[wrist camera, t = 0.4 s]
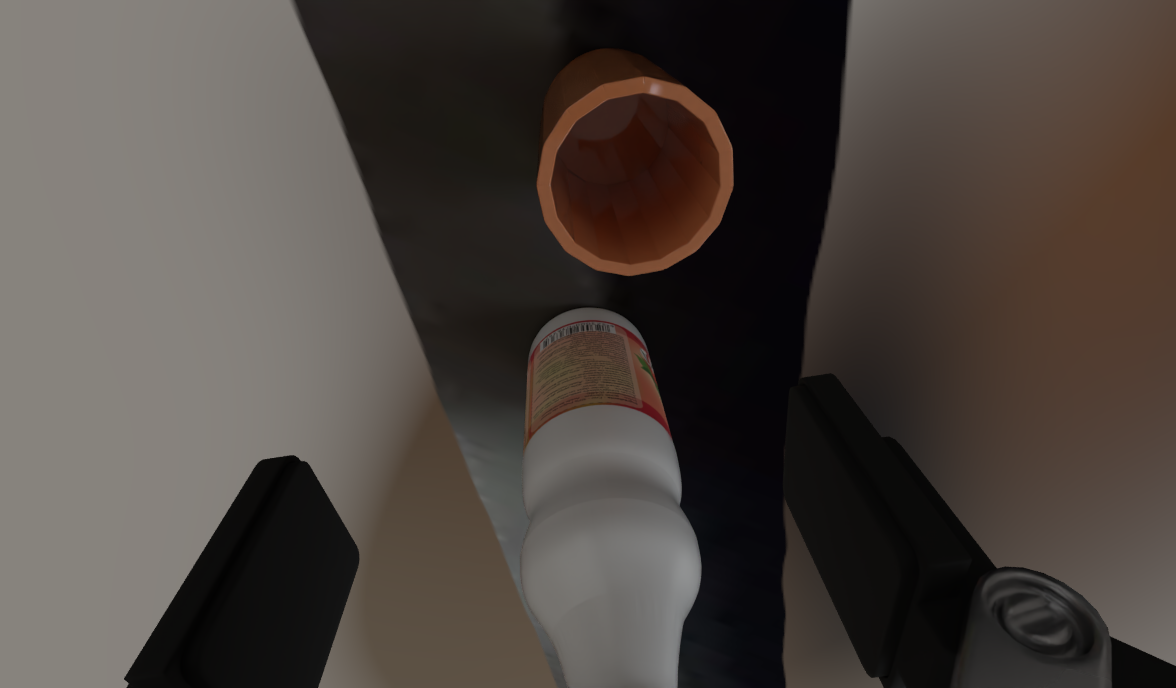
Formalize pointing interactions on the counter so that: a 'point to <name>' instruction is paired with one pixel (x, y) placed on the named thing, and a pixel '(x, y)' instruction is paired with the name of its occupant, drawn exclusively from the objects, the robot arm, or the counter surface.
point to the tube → (630, 164)
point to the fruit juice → (604, 506)
